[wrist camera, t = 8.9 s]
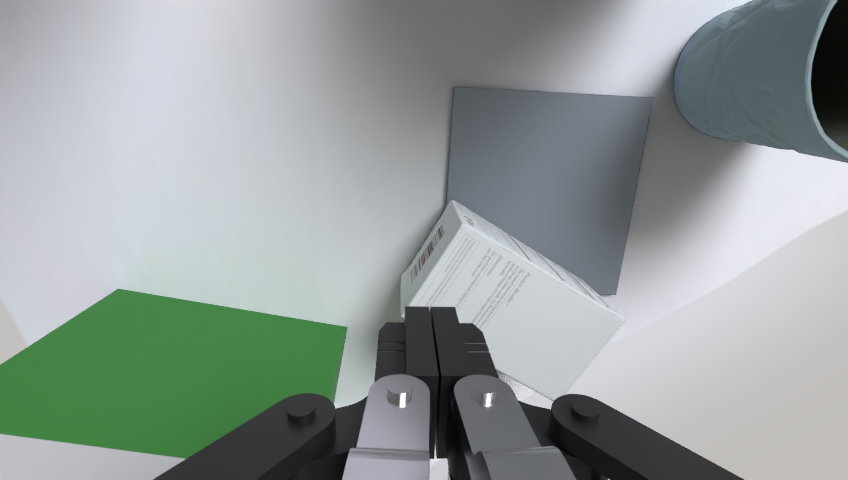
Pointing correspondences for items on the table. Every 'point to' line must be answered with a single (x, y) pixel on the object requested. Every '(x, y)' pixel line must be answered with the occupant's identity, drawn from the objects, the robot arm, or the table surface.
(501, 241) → the supplement box
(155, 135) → the table surface
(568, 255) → the mat
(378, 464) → the robot arm
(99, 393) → the hardback book
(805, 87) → the blue-grey plant pot
